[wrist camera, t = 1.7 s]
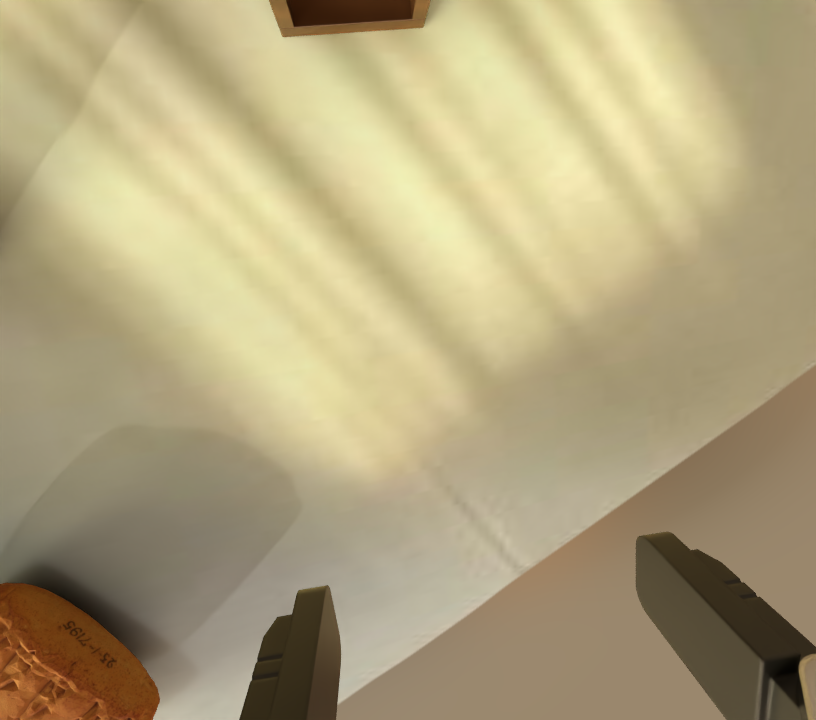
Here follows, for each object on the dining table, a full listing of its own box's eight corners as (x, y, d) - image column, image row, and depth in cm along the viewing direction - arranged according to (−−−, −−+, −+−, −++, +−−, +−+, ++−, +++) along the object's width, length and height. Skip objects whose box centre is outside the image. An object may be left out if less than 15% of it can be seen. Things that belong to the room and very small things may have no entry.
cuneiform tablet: (191, 665, 50) (161, 740, 43) (87, 748, 52) (39, 835, 44) (30, 547, 45) (-39, 608, 37) (-82, 643, 46) (-171, 722, 38)
